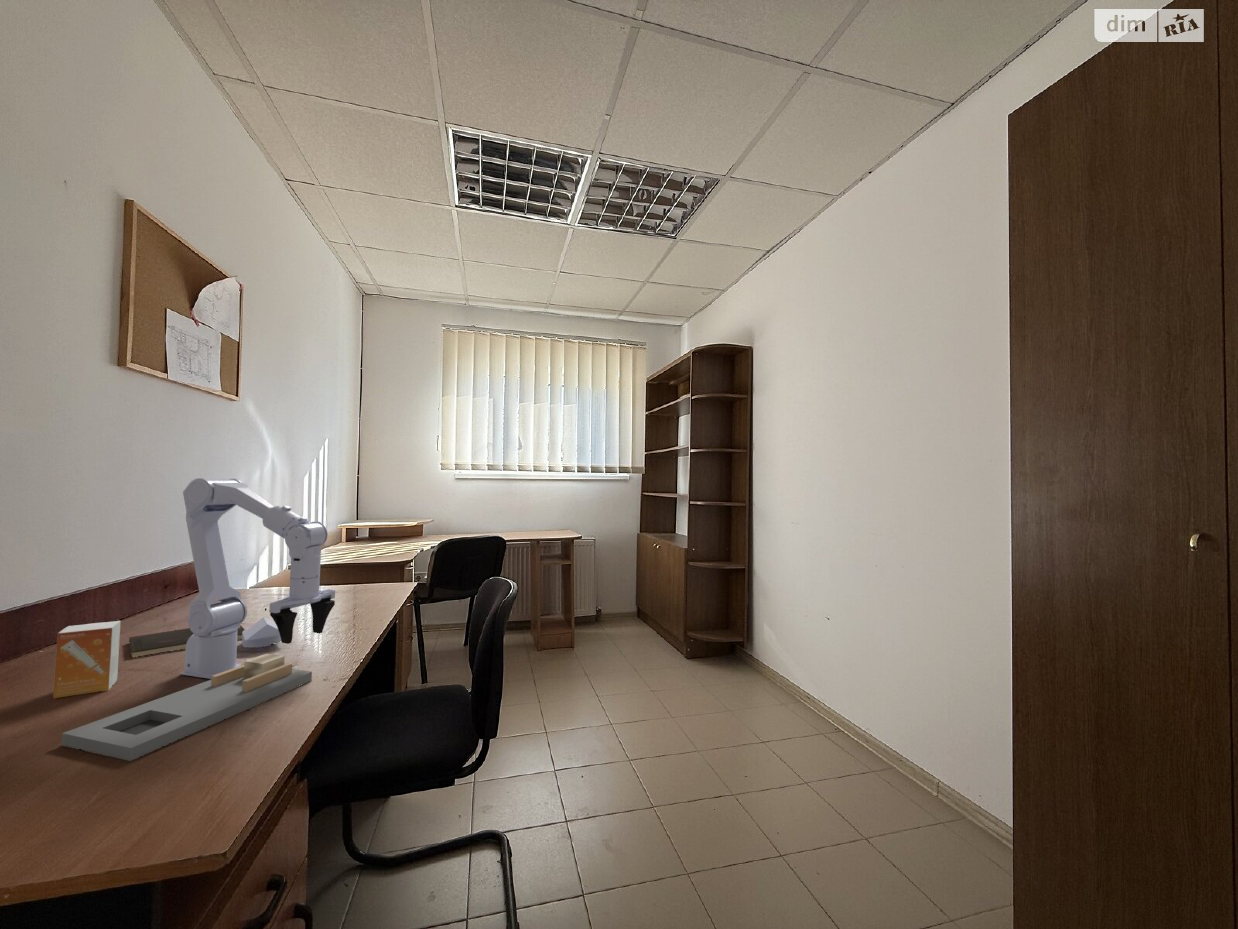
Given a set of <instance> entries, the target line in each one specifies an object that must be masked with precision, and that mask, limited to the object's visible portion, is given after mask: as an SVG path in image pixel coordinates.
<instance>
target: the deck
mask: <svg viewBox="0 0 1238 929" xmlns="http://www.w3.org/2000/svg"><path fill="white" fill-rule="evenodd" d="M312 673H313V672H312V671H311V670H310V671H309V670H303V669H296V668H295V669H294V668H293V663H284V665H282V666H280V667H277V668H274V669H272V670H269V671H267V672H264V673H261V674H259V675H256V676H254V677H251V678H248V679H247V678H244V665H241V666H239V667H236V668H233V669H230V670H227V671H224V672H222V673H219V674H216V675H213V676H212V678H211V679H208V680H207V681H203V682H201V683H198V684H196V685H193V686H190V687H186V688H184V689H182V690H179V691H176V692H173V693H171V694H168V695H165V696H162V697H159V698H156V699H153V700H151V701H149V702H145V703H143V704H140V705H137V706H135V707H134V706H133V707H131V708H129V709H126V710H123V711H120V712H117V713H115V714H111V715H109V716H107V717H103V718H101V719H98V720H95V721H92V722H89V723H87V724H84V725H82V726H79V727H76V728H73V729H70V730H67V731H65V732H62V733H61V745H62V746H61V747H65V746H68V747H67V748H70V747H71V748H70V749H74V748H75V749H74V750H79V749H82V750H81V751H83V750H84V751H83V752H88V753H93V754H96V753H98V755H101V754H102V756H106V757H110V756H111V757H110V758H114V757H115V759H119V760H123V761H128V762H131V761H134V760H136V759H139V758H141V757H143V756H145V754H146V755H148V754H149V753H150V754H151V753H152V752H155V751H157V750H159V749H161V748H163V747H162V746H164V747H166V746H168V745H170V744H172V743H175V742H177V741H179V740H182V739H184V738H185V736H186V737H188V736H191V735H193V734H195V733H198V732H200V731H202V730H204V729H206V728H208V726H209V727H210V726H213V725H216V724H218V723H220V722H222V721H224V719H225V720H226V719H228V718H231V717H234V716H235V715H238V714H240V713H242V712H244V711H247V710H249V709H251V708H254V707H256V706H258V705H260V703H261V704H263V703H265V702H267V701H269V699H270V700H272V699H274V698H275V697H279V696H280V695H283V694H284V692H285V693H287V692H286V691H288V692H289V690H290V691H292V690H294V689H297V688H298V686H299V685H301V684H303V685H305V683H306V684H308V683H309V682H308V681H310V682H312V681H313V680H312V679H313V678H312V677H313V674H312ZM307 682H308V683H307ZM301 686H302V685H301ZM296 687H297V688H296ZM299 687H300V686H299ZM293 688H294V689H293ZM291 689H292V690H291ZM278 695H279V696H278ZM271 698H272V699H271ZM262 702H263V703H262ZM217 722H218V723H217ZM178 739H179V740H178ZM169 743H170V744H169ZM156 749H157V750H156ZM154 750H155V751H154ZM140 756H141V757H140Z"/></svg>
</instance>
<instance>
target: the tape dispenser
mask: <svg viewBox="0 0 1238 929" xmlns="http://www.w3.org/2000/svg"><path fill="white" fill-rule="evenodd" d="M280 641H281V637H280V634H279V630H278V628H277V625H276V623H275V621H273V620H270V619H268V618H267V617H264V616H263V617H262V618H260V619H259V620H257V621H256V622H255V623H254V624H252V625H251V626H250V627H248V628H246V629H244V631H243V632H242V639H241V646H242V647H243V648H247V647H256V648H263V646H264V647H269V646H272V645H271V644H273V645H275V644H274V643H277V644H279V643H281V642H280ZM268 645H269V646H268Z"/></svg>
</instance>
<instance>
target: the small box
mask: <svg viewBox="0 0 1238 929" xmlns="http://www.w3.org/2000/svg"><path fill="white" fill-rule="evenodd" d="M120 633H121V620H115V621H114V620H113V621H107V622H103V621H102V622H94V623H86V624H85V623H83V624H78V625H77V624H76V625H68V626H66V627H65V628H63V629H62V630H60V631H59V632H57V639H56V651H55V662H54V663H55V664H54V665H55V666H54V678H53V679H54V680H53V697H52V698H53V699H58V698H64V697H70V696H77V695H79V696H80V695H85V694H93V693H98V692H99V691H100V692H107V691H109V690H110V689H112V687H113V686H114V684H116V682H117V681H118V674H119V673H118V670H119V652H120V637H121V634H120ZM112 685H113V686H112Z"/></svg>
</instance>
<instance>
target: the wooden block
mask: <svg viewBox="0 0 1238 929" xmlns="http://www.w3.org/2000/svg"><path fill="white" fill-rule="evenodd" d="M282 665H285V655H281V654H271V653H264V654H261V655H258V656H256V657H253V658H250V659H247V660H244V678H247V679H248V678H251V677H254V676H256V675H259V674H261V673H264V672H267V671H269V670H272V669H274V668H277V667H280V666H282Z"/></svg>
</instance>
